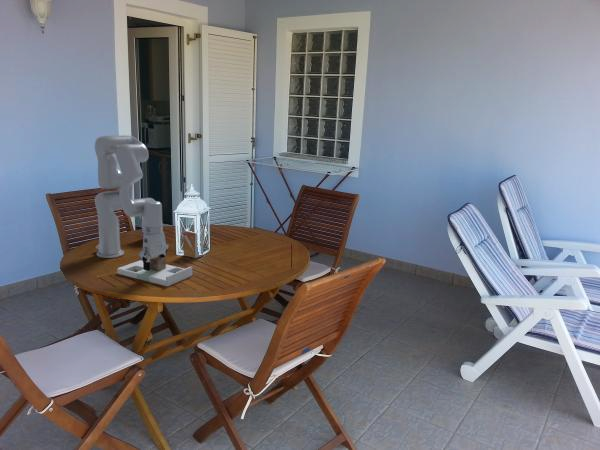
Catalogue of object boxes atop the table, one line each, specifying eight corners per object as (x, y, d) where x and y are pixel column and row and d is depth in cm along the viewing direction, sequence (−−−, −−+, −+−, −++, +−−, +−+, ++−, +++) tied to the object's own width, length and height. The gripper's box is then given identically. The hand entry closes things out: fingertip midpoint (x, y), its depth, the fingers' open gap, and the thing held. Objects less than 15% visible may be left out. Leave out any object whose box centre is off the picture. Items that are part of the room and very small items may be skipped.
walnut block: (149, 269, 216) (149, 258, 215) (157, 266, 220) (157, 255, 219) (158, 271, 214) (157, 260, 213) (165, 268, 218) (165, 257, 217)
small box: (182, 255, 246) (182, 230, 243) (191, 252, 251) (191, 228, 248) (195, 258, 242) (195, 233, 239) (203, 255, 247) (203, 230, 244)
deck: (117, 273, 216) (117, 264, 215) (143, 264, 230) (143, 255, 229) (167, 286, 204) (167, 277, 203) (192, 275, 218) (192, 266, 217)
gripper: (145, 235, 202) (147, 274, 206) (173, 227, 217) (174, 263, 221) (132, 232, 205) (133, 271, 209) (160, 224, 220) (161, 260, 224)
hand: (154, 267), depth 215 cm, fingers open, 9 cm apart
